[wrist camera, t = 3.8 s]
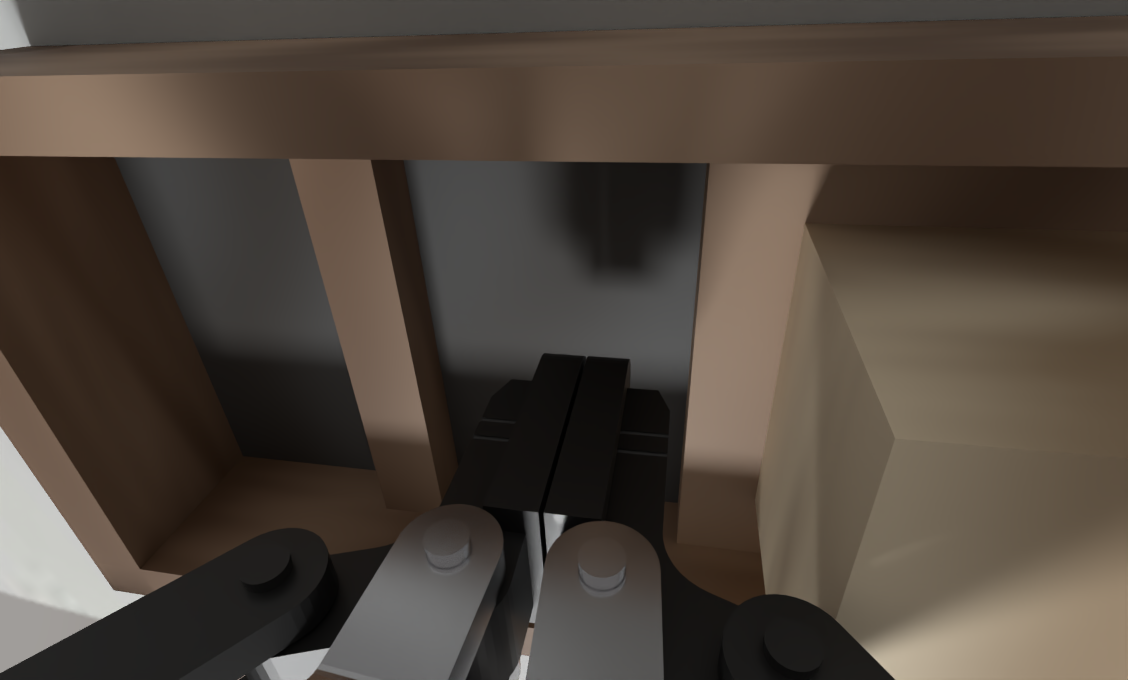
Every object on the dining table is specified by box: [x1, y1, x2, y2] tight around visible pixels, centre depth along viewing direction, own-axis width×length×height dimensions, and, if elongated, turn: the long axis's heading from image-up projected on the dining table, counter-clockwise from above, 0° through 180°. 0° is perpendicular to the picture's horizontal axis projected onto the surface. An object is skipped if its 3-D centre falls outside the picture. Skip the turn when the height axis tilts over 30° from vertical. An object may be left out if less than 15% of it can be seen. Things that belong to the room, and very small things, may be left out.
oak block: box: [755, 223, 1128, 680], centre depth 8 cm, size 6×6×5 cm
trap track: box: [0, 15, 1128, 656], centre depth 10 cm, size 31×11×5 cm, turn 92°
